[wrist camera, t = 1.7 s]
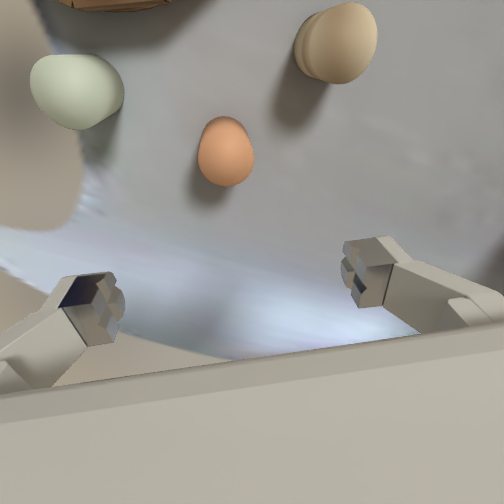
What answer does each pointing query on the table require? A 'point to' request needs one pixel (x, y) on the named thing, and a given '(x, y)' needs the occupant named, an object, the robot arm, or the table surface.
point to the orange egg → (225, 152)
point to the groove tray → (113, 5)
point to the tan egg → (336, 43)
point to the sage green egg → (76, 89)
